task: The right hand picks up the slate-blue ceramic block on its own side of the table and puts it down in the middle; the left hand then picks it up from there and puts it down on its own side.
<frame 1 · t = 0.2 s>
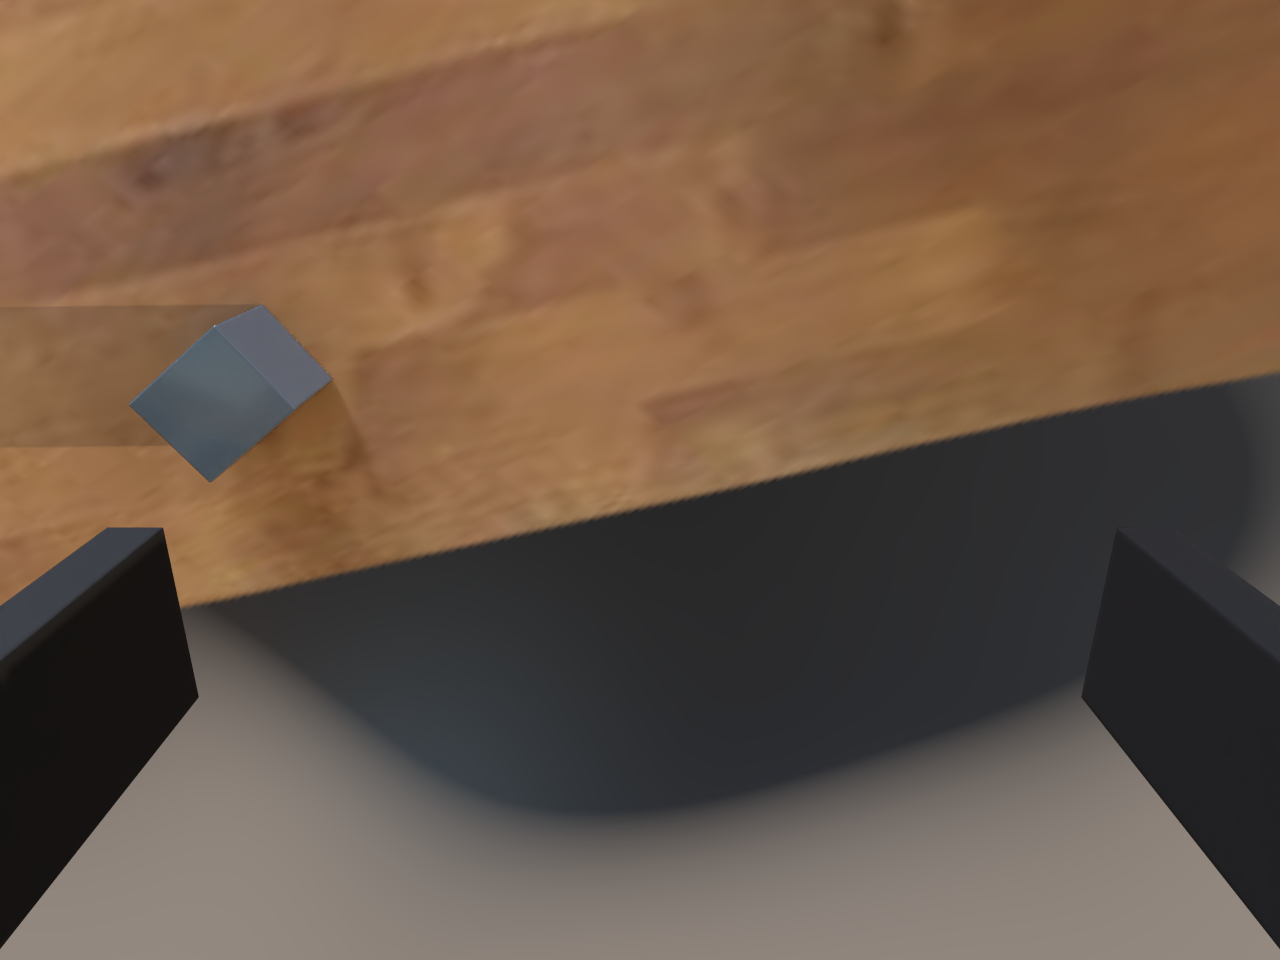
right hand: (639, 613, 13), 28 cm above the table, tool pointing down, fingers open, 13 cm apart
block: (259, 376, 40), on the table
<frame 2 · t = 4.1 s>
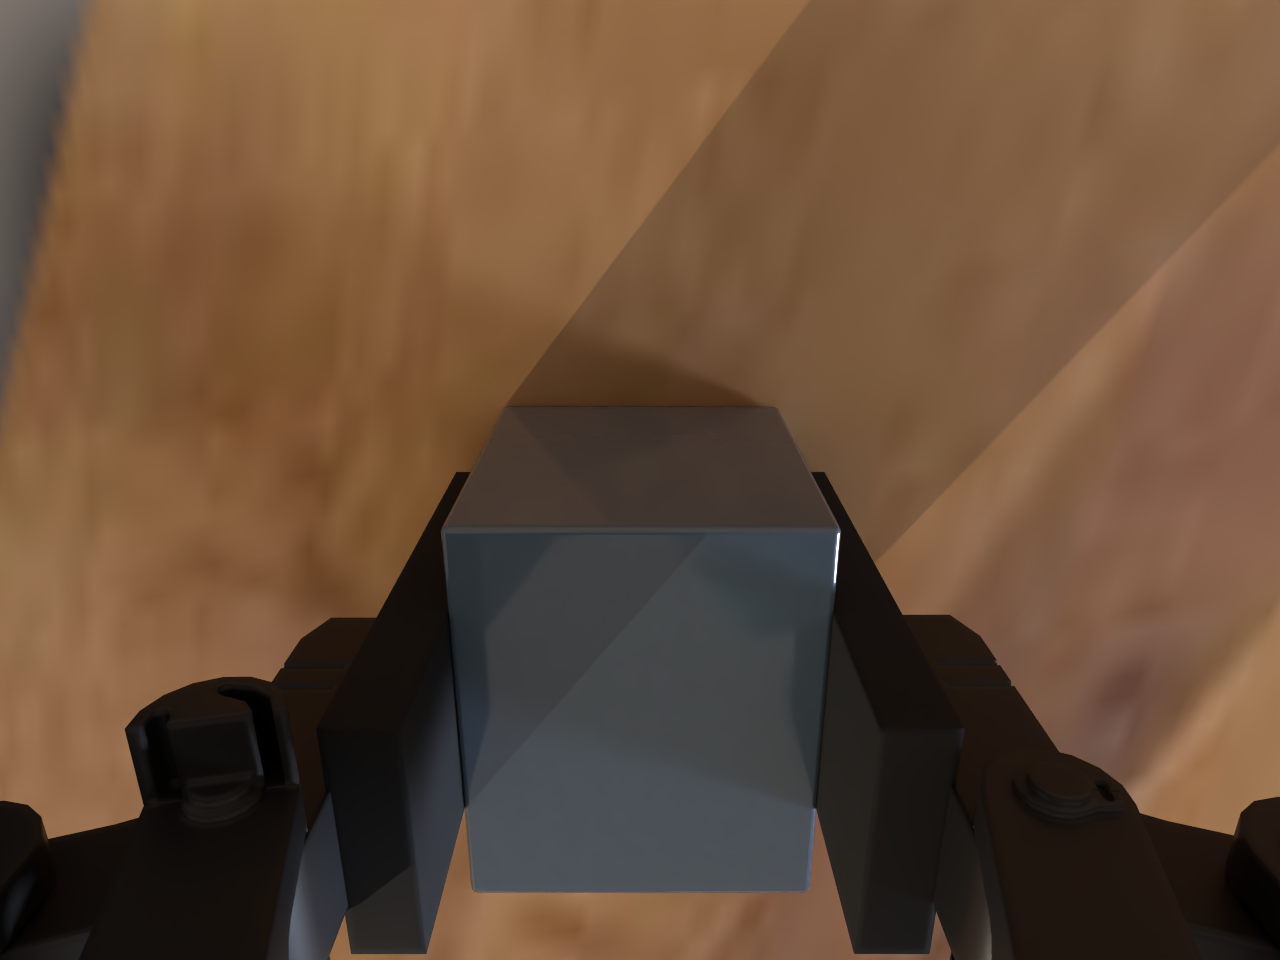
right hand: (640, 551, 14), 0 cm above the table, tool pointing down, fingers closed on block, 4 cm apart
block: (640, 553, 15), on the table, touching right hand
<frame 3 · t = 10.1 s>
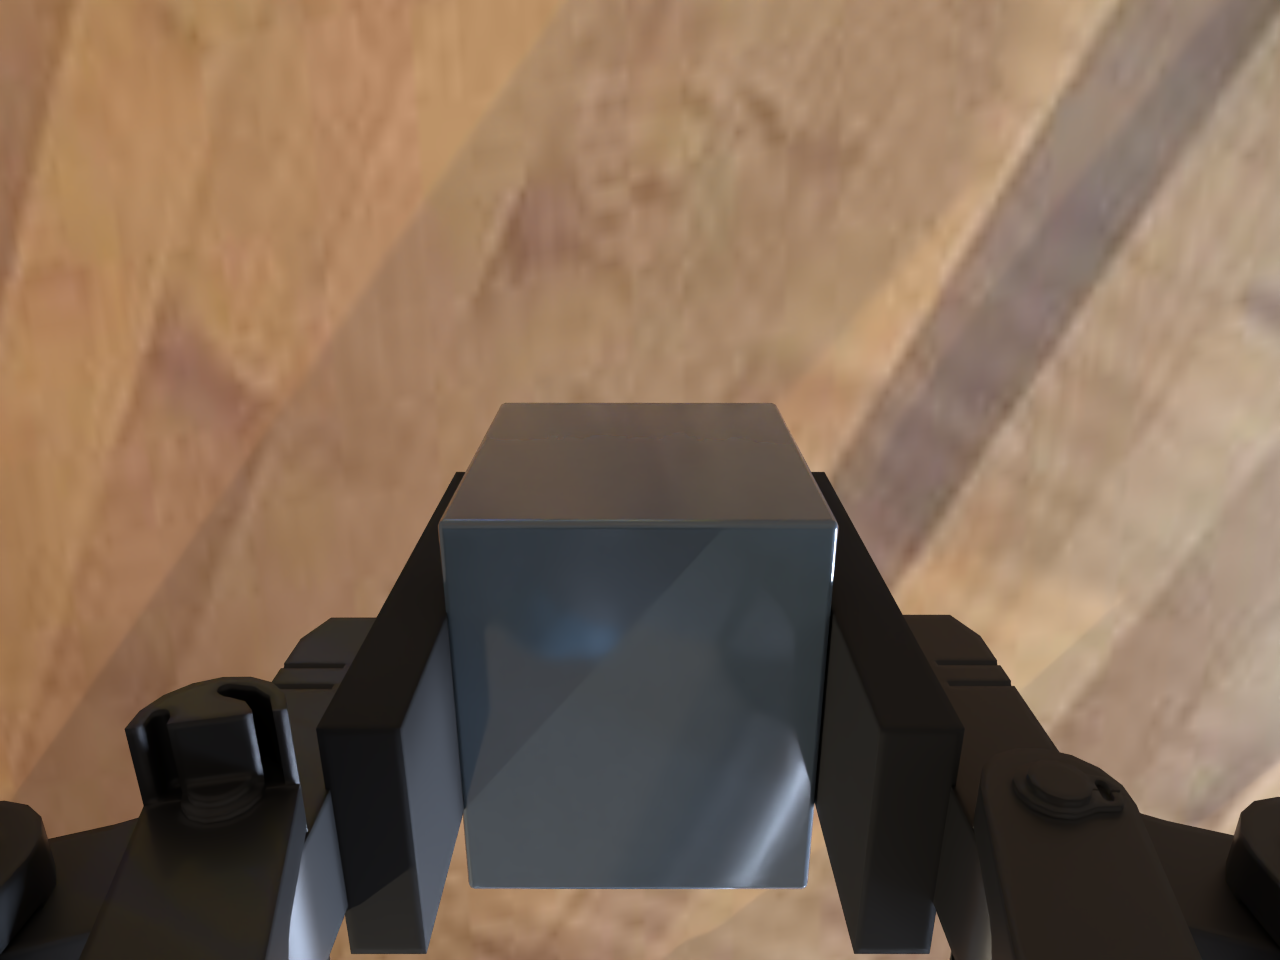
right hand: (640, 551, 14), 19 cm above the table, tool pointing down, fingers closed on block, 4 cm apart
block: (638, 549, 15), point 19 cm above the table, touching right hand
when the right hand's fingers open (1 cm above the table, at t = 16.6 s): block stays where it is, on the table.
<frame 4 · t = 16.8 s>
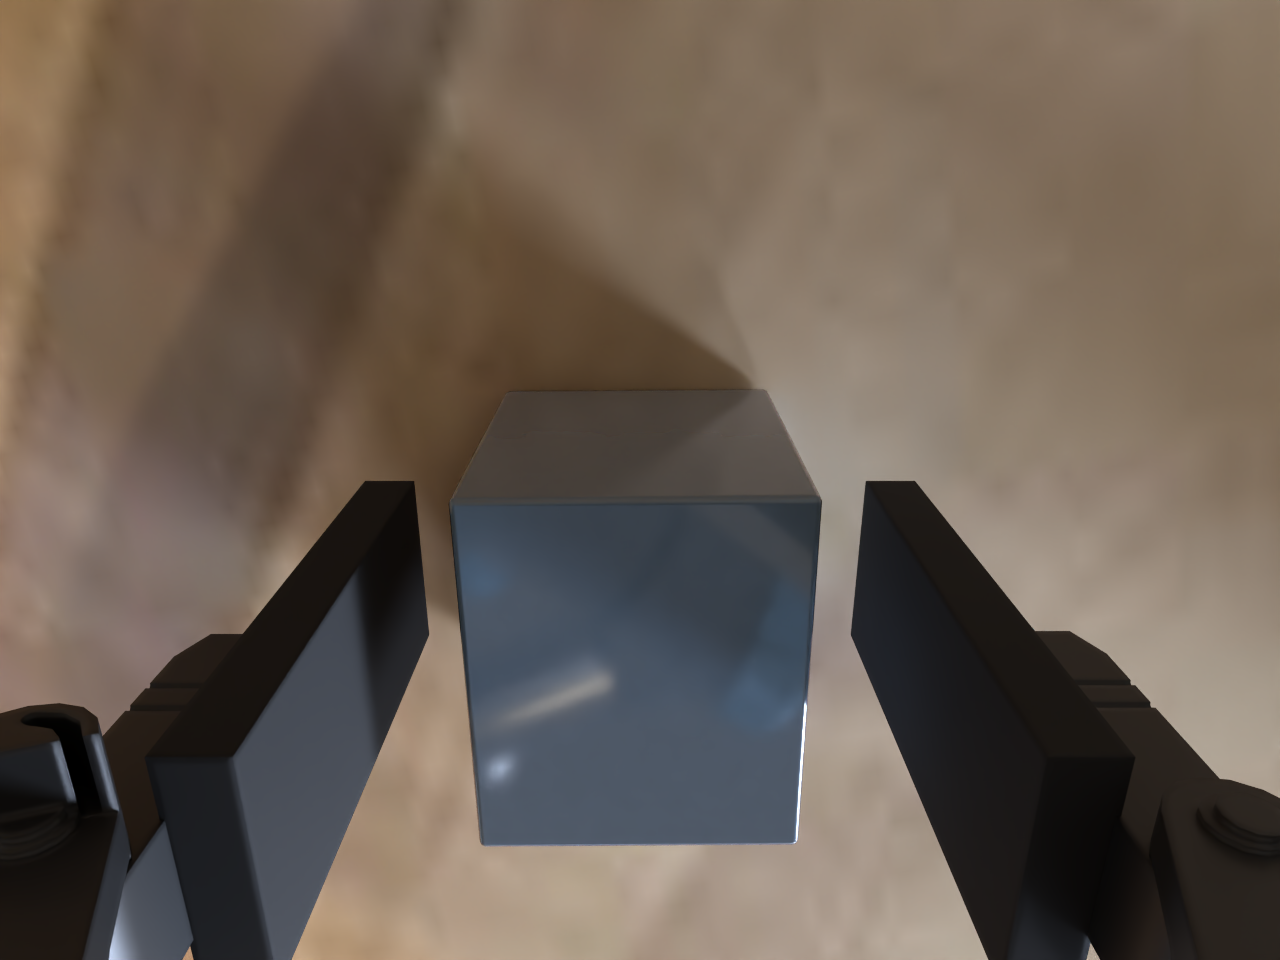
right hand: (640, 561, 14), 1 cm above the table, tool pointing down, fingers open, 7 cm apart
block: (637, 531, 15), on the table
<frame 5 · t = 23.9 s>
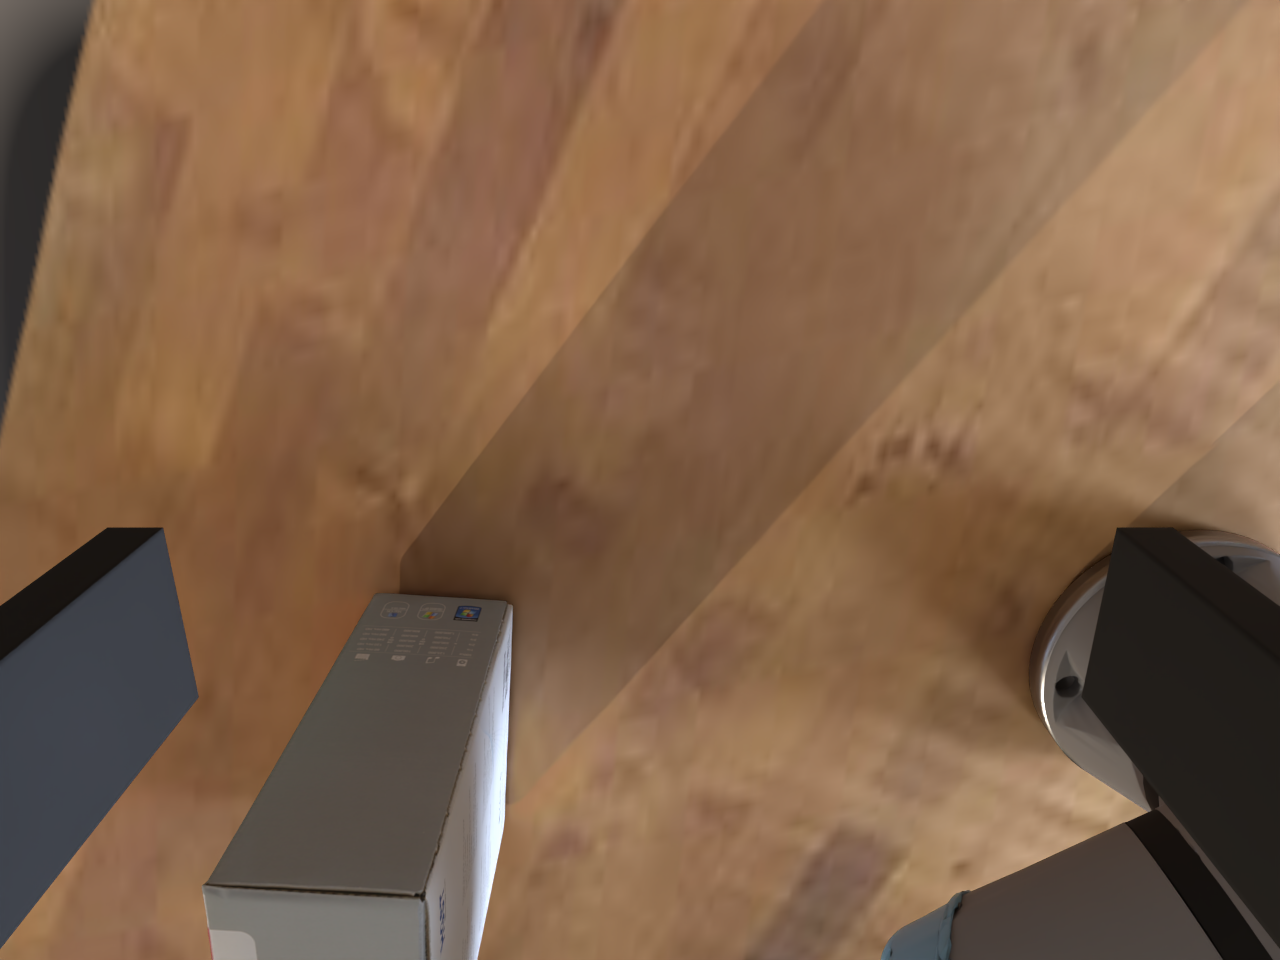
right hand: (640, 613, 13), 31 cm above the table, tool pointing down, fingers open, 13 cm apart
hard drive box: (444, 712, 51), on the table
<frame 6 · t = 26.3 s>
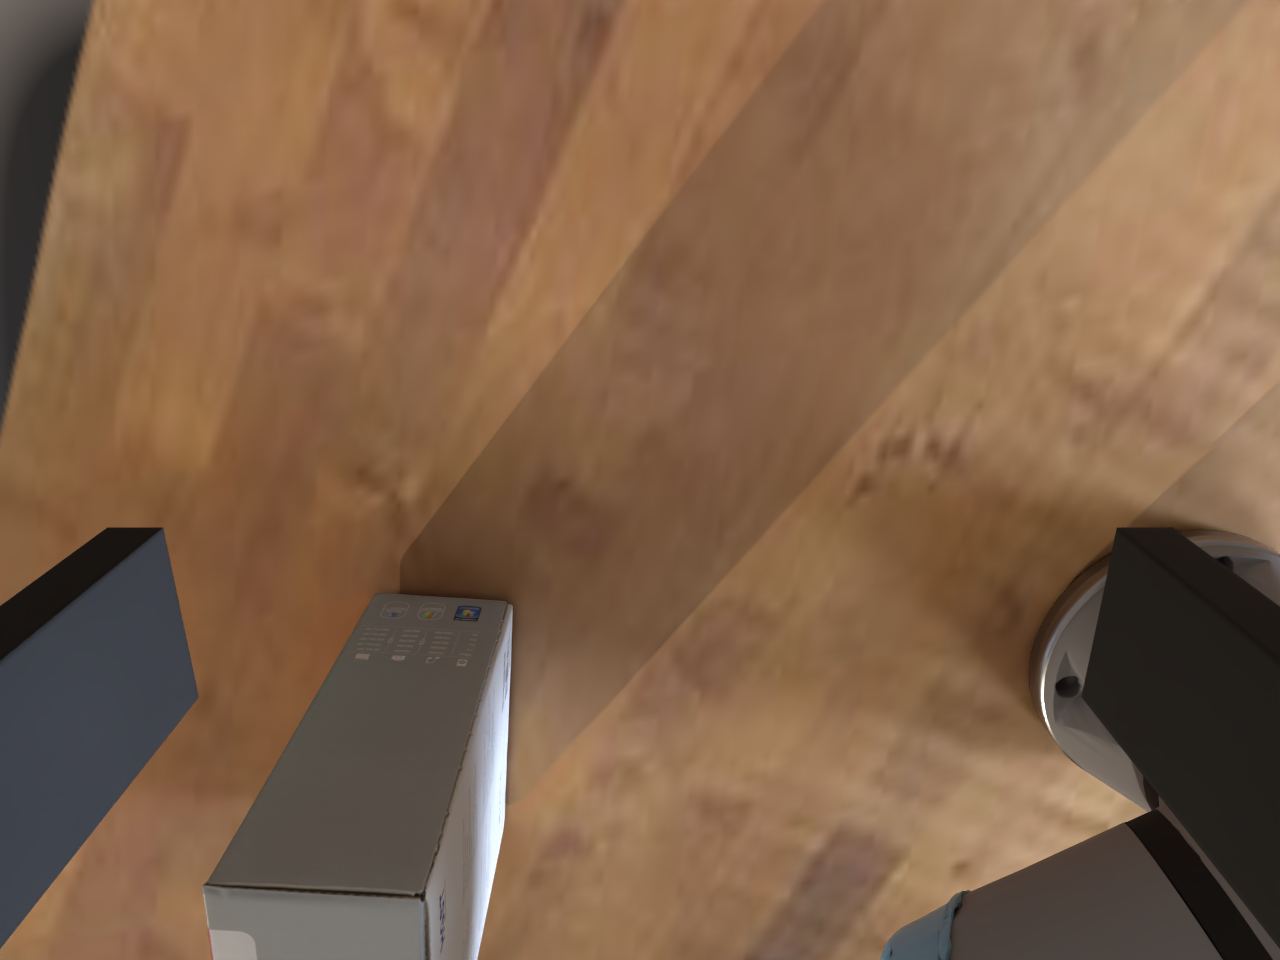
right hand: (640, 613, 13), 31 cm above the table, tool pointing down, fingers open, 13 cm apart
hard drive box: (444, 712, 51), on the table
when the left hand's fingers open (2 cm above the table, at t = 28.5 s): block drops 1 cm, on the table.
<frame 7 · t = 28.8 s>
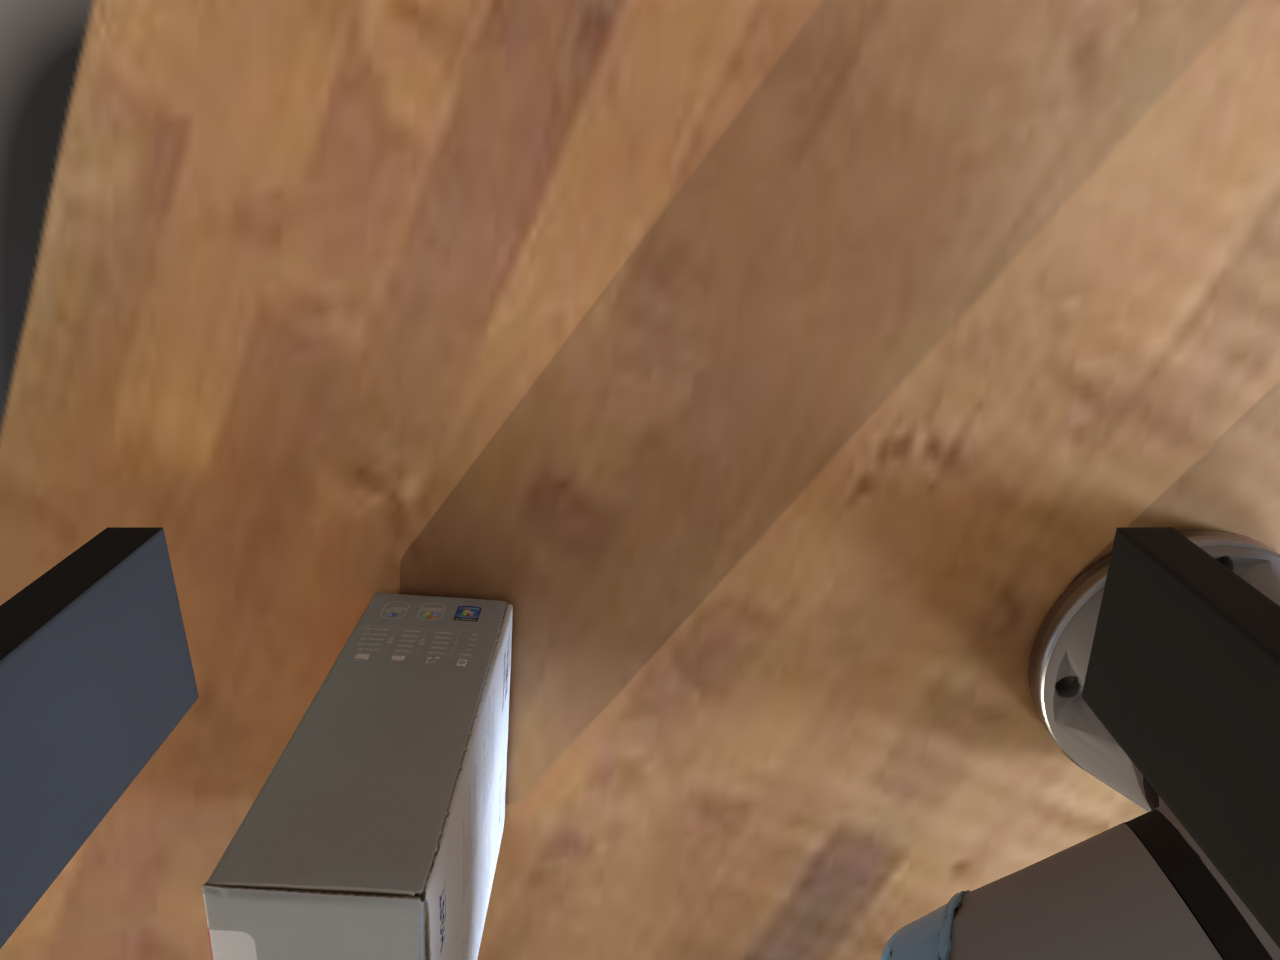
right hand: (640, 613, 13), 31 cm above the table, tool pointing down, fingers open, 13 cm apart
hard drive box: (444, 712, 51), on the table
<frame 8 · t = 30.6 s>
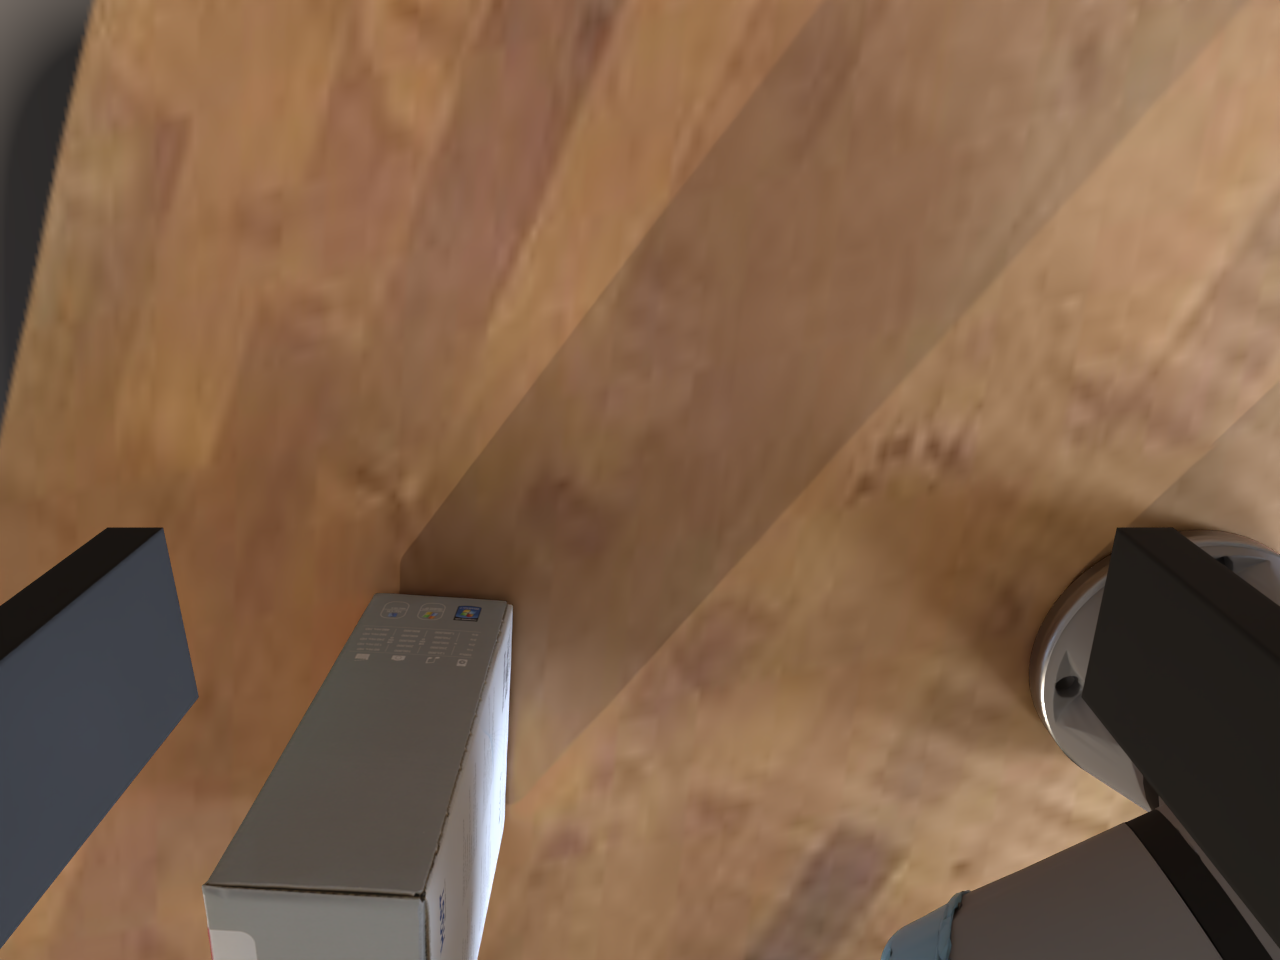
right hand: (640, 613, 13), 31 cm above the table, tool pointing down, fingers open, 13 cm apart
hard drive box: (444, 712, 51), on the table
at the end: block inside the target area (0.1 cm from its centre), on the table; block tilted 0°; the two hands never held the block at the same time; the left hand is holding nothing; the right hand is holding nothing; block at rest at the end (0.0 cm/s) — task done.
